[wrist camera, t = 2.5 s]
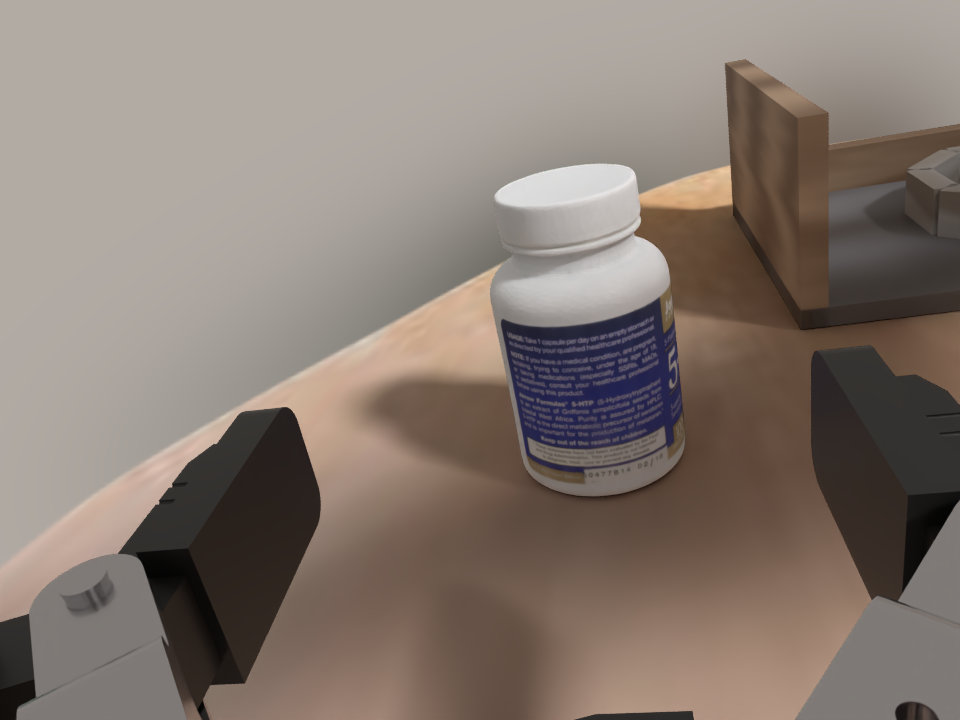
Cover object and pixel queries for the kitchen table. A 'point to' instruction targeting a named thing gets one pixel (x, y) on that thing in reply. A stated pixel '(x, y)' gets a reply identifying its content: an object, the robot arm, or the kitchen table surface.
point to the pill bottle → (587, 332)
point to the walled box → (843, 207)
